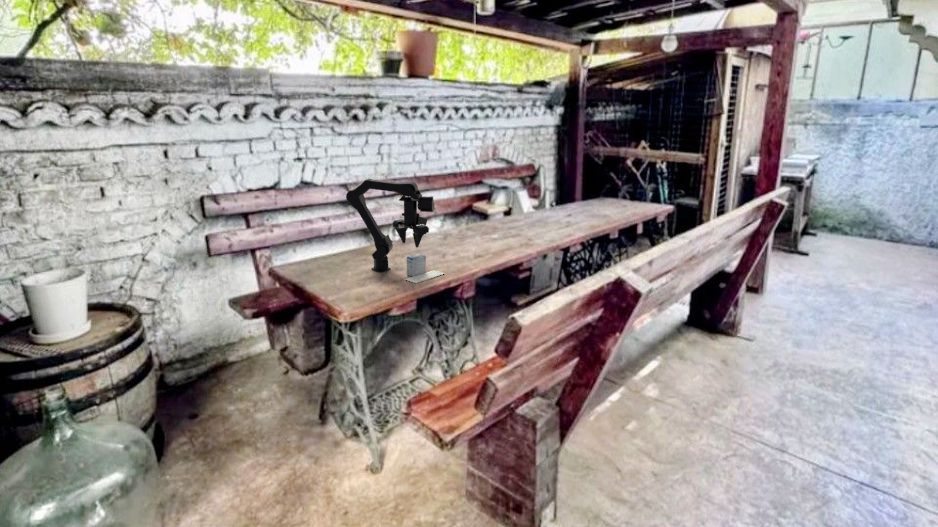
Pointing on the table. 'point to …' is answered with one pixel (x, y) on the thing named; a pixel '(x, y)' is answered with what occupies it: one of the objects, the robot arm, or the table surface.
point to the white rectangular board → (424, 276)
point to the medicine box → (416, 264)
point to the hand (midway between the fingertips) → (410, 245)
